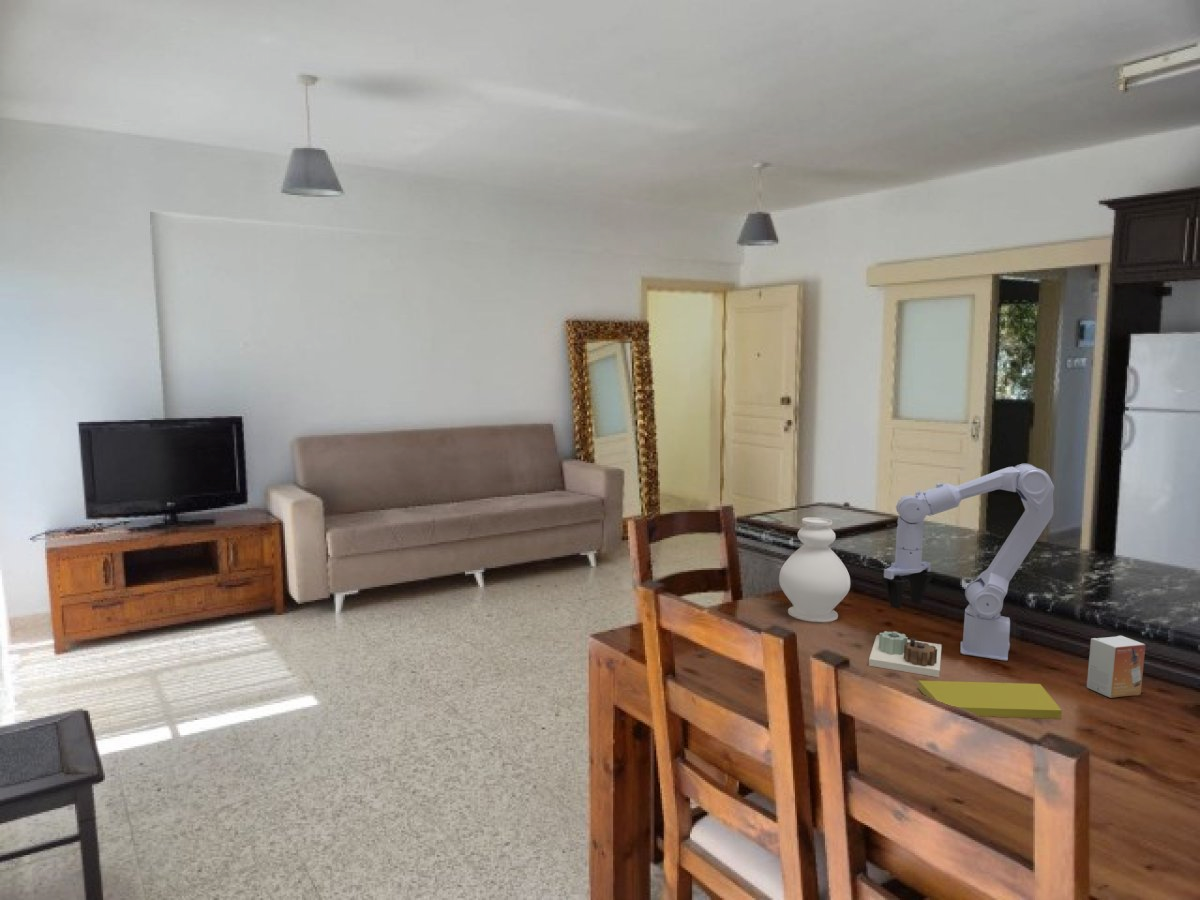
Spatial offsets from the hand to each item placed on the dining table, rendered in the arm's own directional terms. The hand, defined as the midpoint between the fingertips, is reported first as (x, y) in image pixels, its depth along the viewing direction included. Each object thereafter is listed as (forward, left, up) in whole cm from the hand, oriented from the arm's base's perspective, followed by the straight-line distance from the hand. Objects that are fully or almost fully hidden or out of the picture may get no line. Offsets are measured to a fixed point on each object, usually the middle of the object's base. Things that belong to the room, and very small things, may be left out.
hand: (905, 604), depth 181 cm
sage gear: (+2, +10, -8) cm, 13 cm away
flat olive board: (-18, +27, -10) cm, 34 cm away
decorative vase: (+23, -12, -10) cm, 28 cm away
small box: (-40, +10, -10) cm, 42 cm away
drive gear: (-4, +14, -8) cm, 17 cm away
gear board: (-1, +10, -9) cm, 13 cm away
